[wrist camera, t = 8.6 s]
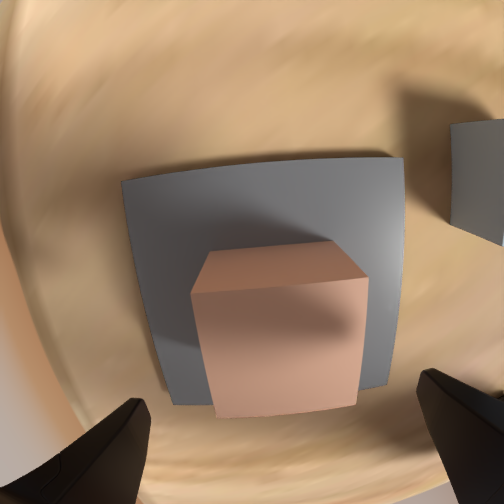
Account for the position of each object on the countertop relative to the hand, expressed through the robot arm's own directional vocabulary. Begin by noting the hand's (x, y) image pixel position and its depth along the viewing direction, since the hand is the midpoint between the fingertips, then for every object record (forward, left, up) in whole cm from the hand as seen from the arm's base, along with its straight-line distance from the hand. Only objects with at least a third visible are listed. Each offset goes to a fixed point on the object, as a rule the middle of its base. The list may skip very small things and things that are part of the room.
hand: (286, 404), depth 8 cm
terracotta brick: (0, 0, -7) cm, 7 cm away
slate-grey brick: (+6, -14, -9) cm, 18 cm away
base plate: (0, 0, -8) cm, 8 cm away
